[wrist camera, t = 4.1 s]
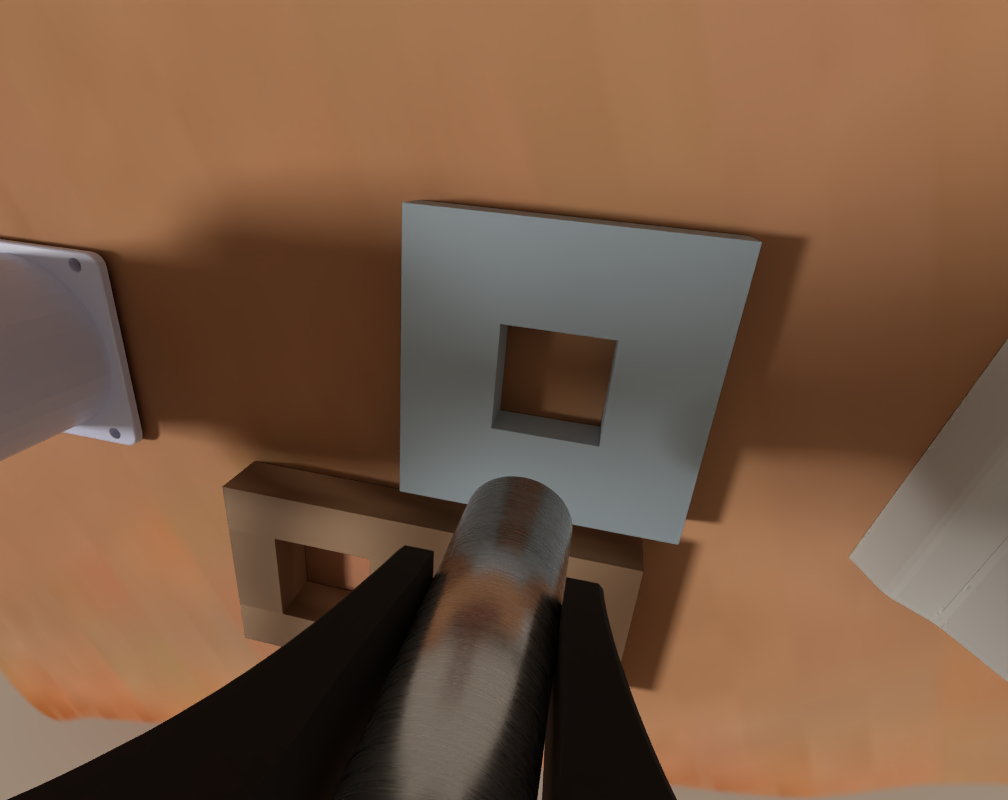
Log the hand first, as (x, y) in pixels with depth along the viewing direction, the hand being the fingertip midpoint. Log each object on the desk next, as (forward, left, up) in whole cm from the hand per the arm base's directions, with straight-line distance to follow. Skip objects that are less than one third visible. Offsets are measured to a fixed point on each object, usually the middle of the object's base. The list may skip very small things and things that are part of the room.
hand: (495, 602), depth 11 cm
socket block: (0, +2, -9) cm, 9 cm away
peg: (0, 0, -2) cm, 3 cm away
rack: (-4, -8, -9) cm, 13 cm away
